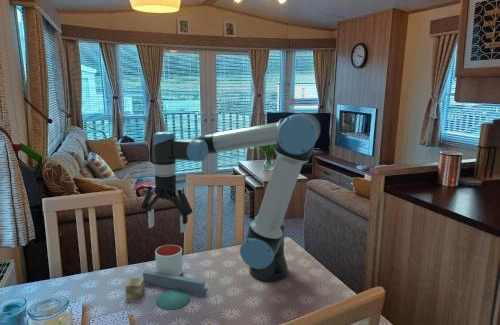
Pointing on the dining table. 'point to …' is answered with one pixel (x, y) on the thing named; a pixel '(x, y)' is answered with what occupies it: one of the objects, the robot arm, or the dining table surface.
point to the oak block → (135, 288)
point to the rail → (175, 282)
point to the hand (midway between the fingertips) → (167, 229)
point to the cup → (169, 260)
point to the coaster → (173, 299)
